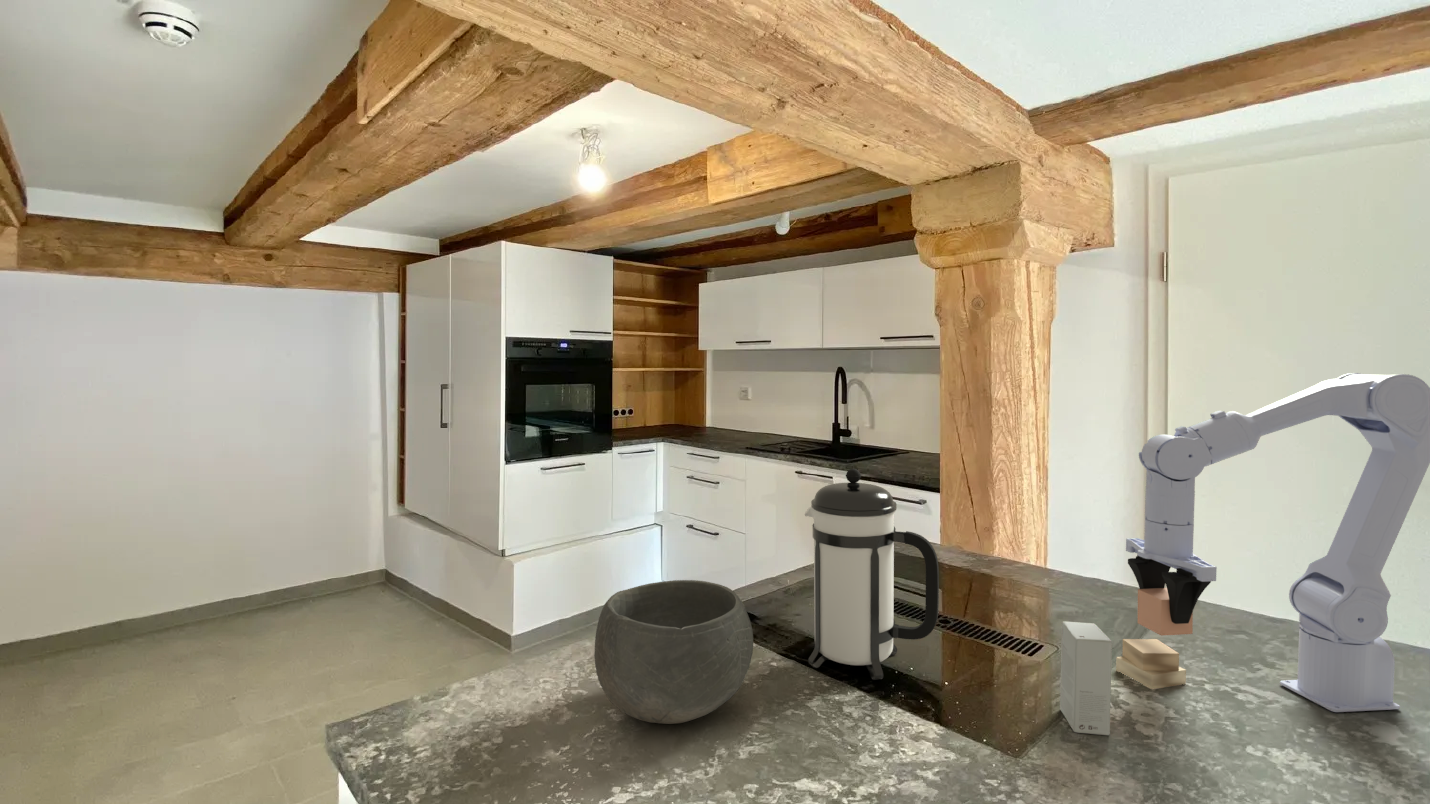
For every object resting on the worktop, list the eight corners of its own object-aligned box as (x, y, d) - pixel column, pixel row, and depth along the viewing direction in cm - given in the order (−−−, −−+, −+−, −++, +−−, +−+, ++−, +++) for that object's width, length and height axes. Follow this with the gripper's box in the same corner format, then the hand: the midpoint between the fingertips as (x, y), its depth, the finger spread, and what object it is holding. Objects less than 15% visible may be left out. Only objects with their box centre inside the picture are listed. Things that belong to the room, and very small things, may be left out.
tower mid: (1156, 655, 100) (1156, 639, 100) (1178, 670, 95) (1179, 653, 95) (1122, 655, 100) (1122, 639, 100) (1142, 670, 95) (1143, 653, 95)
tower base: (1148, 668, 101) (1149, 652, 101) (1185, 687, 95) (1186, 669, 95) (1116, 673, 100) (1116, 657, 100) (1151, 692, 94) (1152, 675, 94)
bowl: (731, 665, 103) (729, 569, 102) (775, 739, 82) (774, 620, 82) (591, 683, 98) (589, 582, 97) (602, 766, 77) (599, 639, 77)
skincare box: (1111, 737, 82) (1113, 641, 81) (1073, 733, 83) (1075, 639, 82) (1093, 711, 88) (1095, 622, 87) (1058, 708, 89) (1060, 620, 88)
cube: (1167, 621, 97) (1167, 587, 97) (1192, 634, 93) (1192, 598, 93) (1137, 623, 97) (1137, 589, 97) (1161, 635, 92) (1161, 599, 92)
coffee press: (831, 692, 94) (830, 480, 92) (791, 646, 110) (790, 464, 108) (941, 677, 98) (942, 474, 97) (888, 634, 114) (888, 459, 112)
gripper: (1107, 510, 101) (1105, 598, 102) (1181, 534, 87) (1178, 637, 87) (1151, 509, 102) (1149, 597, 102) (1233, 533, 87) (1229, 635, 88)
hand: (1166, 615), depth 95 cm, fingers closed on cube, 5 cm apart
